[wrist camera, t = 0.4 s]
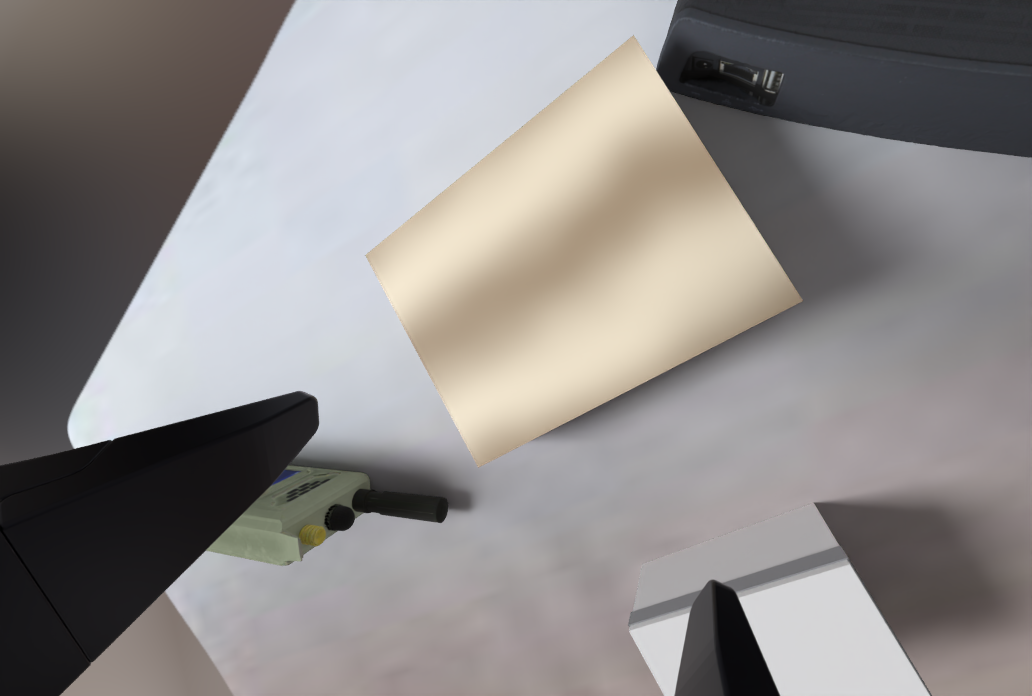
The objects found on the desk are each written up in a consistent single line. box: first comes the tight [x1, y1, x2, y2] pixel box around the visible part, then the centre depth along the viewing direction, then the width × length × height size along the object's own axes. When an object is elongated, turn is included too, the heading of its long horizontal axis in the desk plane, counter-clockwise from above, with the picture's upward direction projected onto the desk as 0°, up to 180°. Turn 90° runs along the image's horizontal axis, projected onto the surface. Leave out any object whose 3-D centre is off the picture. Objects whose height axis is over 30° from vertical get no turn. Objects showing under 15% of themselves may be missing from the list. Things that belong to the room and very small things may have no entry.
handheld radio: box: [206, 465, 448, 566], centre depth 27 cm, size 7×3×25 cm
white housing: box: [628, 503, 932, 696], centre depth 18 cm, size 5×8×5 cm, turn 121°
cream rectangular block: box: [365, 35, 803, 468], centre depth 20 cm, size 11×14×4 cm
